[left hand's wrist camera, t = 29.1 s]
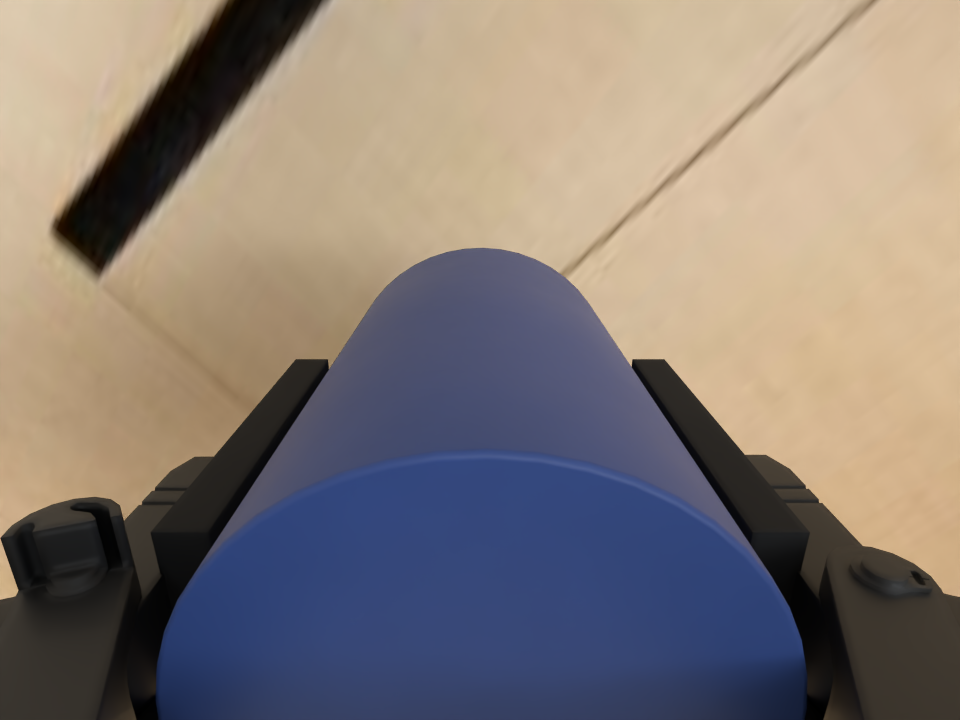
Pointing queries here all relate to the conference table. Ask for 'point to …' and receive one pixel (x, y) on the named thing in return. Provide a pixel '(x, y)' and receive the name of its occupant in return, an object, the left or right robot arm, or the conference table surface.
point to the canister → (481, 535)
